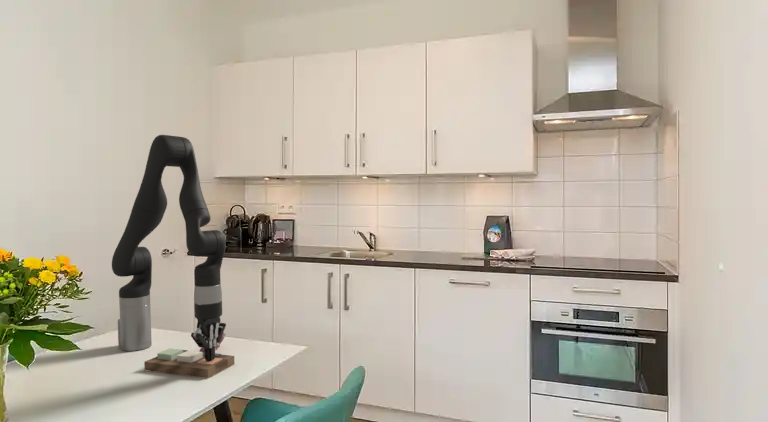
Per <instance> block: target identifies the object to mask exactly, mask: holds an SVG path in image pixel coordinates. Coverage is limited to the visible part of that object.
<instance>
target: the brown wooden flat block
mask: <svg viewBox="0 0 768 422" xmlns="http://www.w3.org/2000/svg"><path fill="white" fill-rule="evenodd" d="M182 350H183V353H184V352H186V351H190V350H189V349H182ZM215 358H222V359H223V360H221V361H219V362H217V363H215V364H213V365H206V364H197V362H199V361H201V360H203V359H205V353H204V352H203V358H200V359H198V360H196V361H194V362H192V363H189V362H180V361H177V358H176V359H174V360H163V359H158V356H154V357H153V358H150V359H148V360H145V361H143V362H144V364H143V365H144V371H148V372H156V373H163V374H169V375H170V374H171V375H178V376H185V377H195V378H200V379H209V378H213V376H216V375H217V374H219V373H221V372H222V371H225V370H227V369H228V368H230V367H233V366H234V365H235V355H228V354H222V353H216V352H215Z"/></svg>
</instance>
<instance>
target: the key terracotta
mask: <svg viewBox="0 0 768 422" xmlns="http://www.w3.org/2000/svg"><path fill="white" fill-rule="evenodd" d="M221 360H223V359H222V358H215V359H214V360H212V361H206V360H205V359H203V360H201V361H199V362H197V364H206V365H213V364H215V363H217V362H219V361H221Z"/></svg>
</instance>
